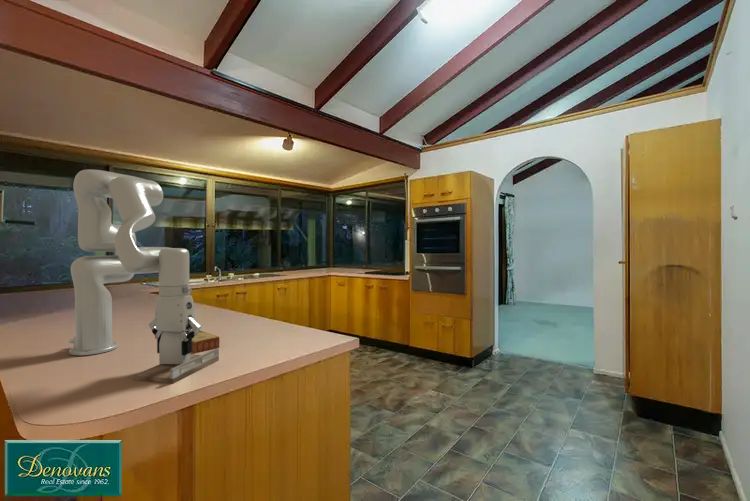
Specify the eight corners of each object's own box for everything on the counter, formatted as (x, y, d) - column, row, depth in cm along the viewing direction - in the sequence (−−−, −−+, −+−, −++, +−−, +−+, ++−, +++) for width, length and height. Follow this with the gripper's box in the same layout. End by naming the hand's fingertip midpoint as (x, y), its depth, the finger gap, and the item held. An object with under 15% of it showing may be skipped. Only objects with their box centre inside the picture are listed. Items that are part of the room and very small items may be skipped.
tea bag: (183, 364, 96) (183, 328, 95) (159, 363, 96) (159, 328, 95) (190, 359, 99) (190, 325, 99) (167, 359, 99) (167, 325, 99)
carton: (195, 354, 111) (194, 341, 111) (175, 345, 121) (174, 333, 121) (220, 348, 118) (219, 336, 117) (199, 340, 128) (198, 328, 127)
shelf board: (133, 379, 89) (133, 366, 89) (184, 357, 107) (184, 346, 107) (173, 383, 87) (173, 369, 87) (219, 360, 105) (219, 348, 104)
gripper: (210, 290, 99) (210, 351, 99) (159, 288, 102) (159, 346, 103) (191, 294, 91) (191, 359, 92) (137, 292, 95) (137, 354, 95)
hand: (174, 352), depth 97 cm, fingers closed on tea bag, 7 cm apart
